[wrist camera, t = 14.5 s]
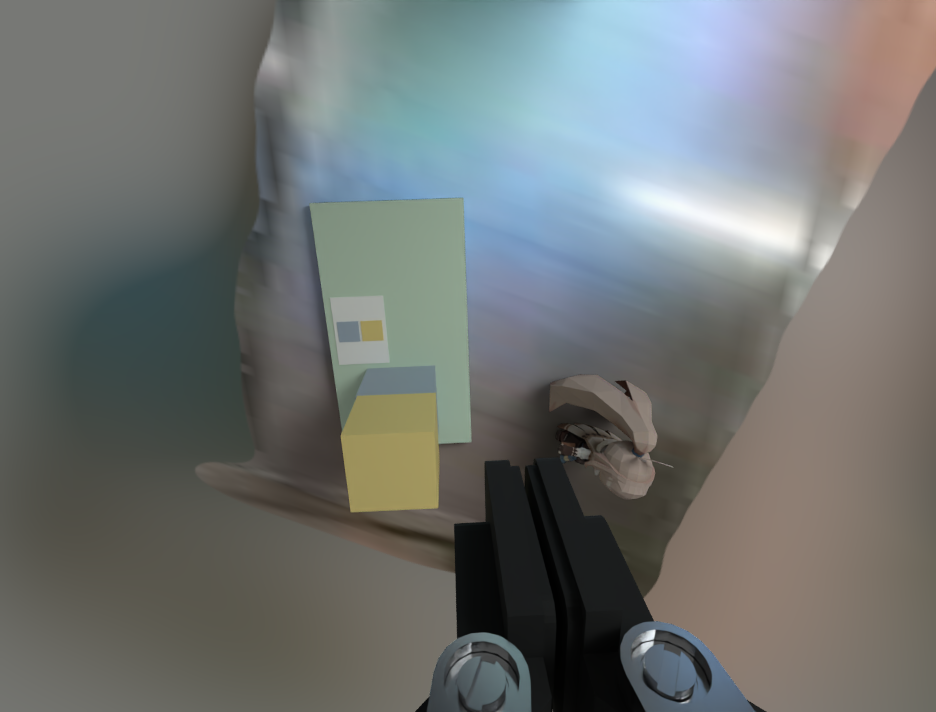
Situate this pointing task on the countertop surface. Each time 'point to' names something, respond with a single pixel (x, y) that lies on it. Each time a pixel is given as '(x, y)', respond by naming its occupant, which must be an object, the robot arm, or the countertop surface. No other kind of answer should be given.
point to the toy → (615, 459)
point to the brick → (392, 452)
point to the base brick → (399, 381)
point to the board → (397, 297)
